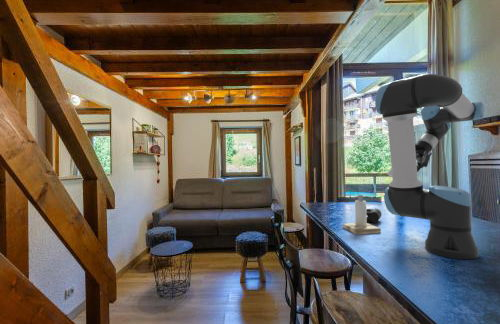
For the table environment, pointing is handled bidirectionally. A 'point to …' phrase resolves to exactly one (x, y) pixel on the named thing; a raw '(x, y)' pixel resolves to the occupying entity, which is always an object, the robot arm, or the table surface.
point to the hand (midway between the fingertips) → (398, 175)
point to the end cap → (373, 215)
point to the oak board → (361, 228)
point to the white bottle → (360, 212)
